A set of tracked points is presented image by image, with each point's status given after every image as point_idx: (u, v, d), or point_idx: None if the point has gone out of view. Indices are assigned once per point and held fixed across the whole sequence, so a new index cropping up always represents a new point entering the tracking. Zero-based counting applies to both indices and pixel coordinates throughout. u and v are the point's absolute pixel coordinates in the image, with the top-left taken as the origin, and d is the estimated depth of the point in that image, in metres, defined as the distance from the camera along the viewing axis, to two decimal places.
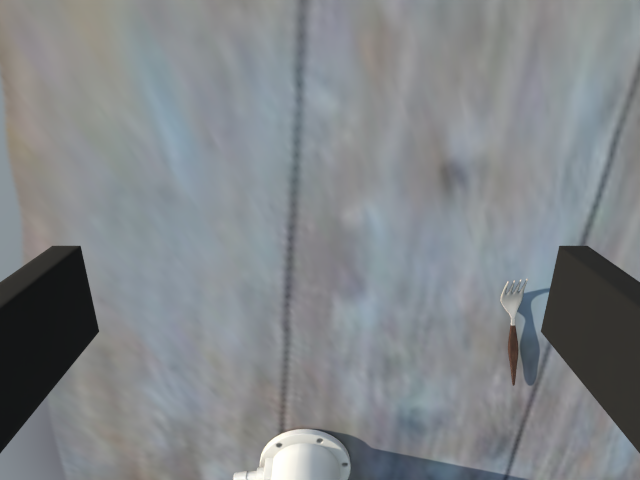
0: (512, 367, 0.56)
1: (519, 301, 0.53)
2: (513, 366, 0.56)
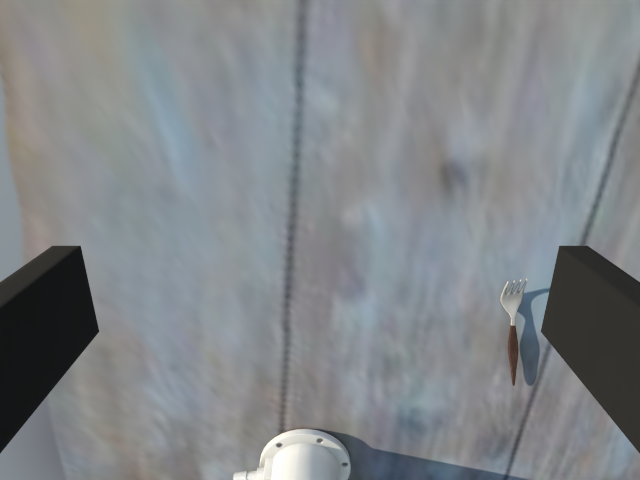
0: (512, 367, 0.56)
1: (519, 301, 0.53)
2: (513, 366, 0.56)
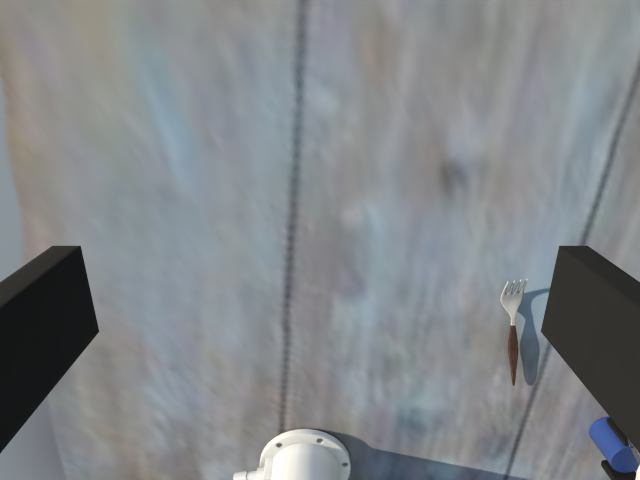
0: (512, 367, 0.56)
1: (519, 301, 0.53)
2: (513, 366, 0.56)
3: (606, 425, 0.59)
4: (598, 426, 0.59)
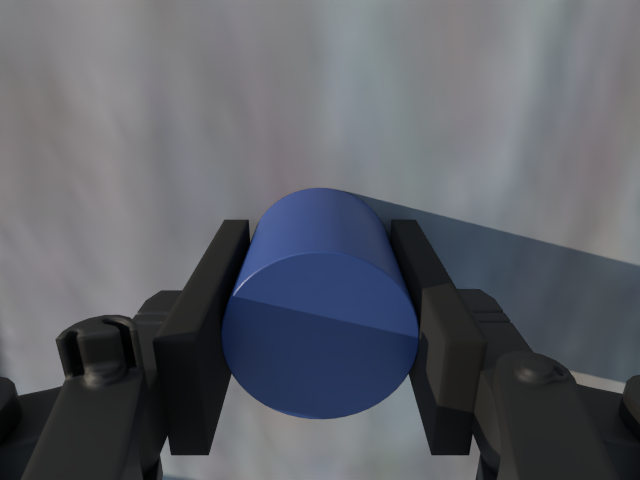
0: None
1: None
2: None
3: (279, 210, 0.13)
4: (259, 225, 0.13)
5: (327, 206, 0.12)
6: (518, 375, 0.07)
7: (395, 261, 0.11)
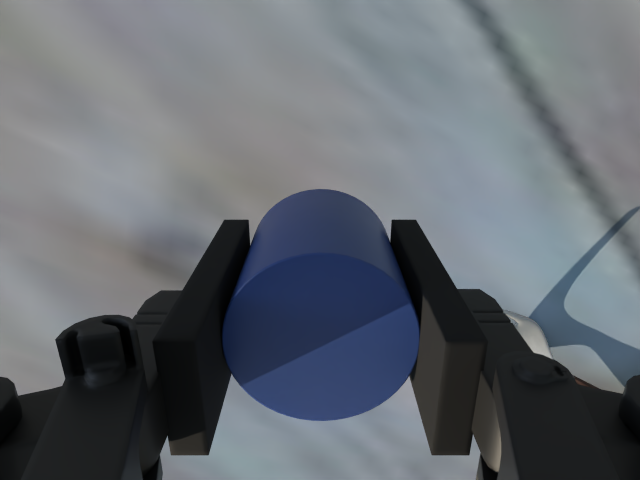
0: None
1: (538, 334, 0.21)
2: None
3: (279, 211, 0.13)
4: (260, 226, 0.13)
5: (328, 207, 0.12)
6: (519, 374, 0.07)
7: (396, 262, 0.11)
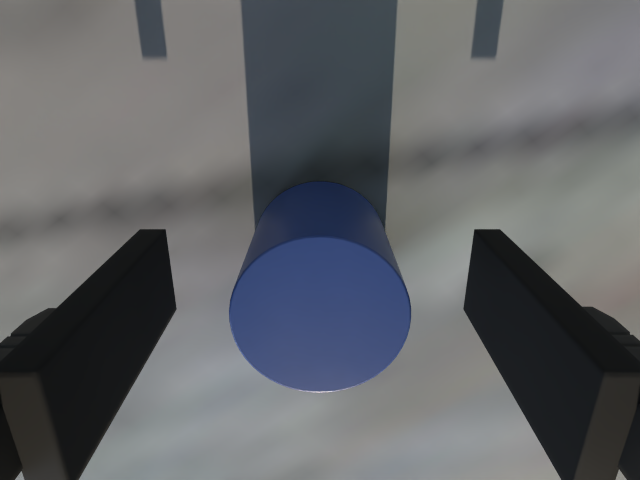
0: None
1: None
2: None
3: (282, 201, 0.14)
4: (263, 215, 0.14)
5: (327, 197, 0.13)
6: None
7: (389, 247, 0.12)
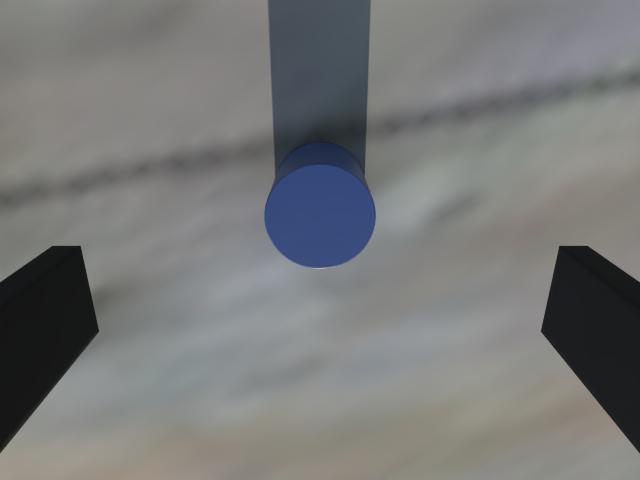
0: None
1: None
2: None
3: (294, 153, 0.21)
4: (282, 164, 0.21)
5: (324, 149, 0.20)
6: None
7: (364, 178, 0.19)
